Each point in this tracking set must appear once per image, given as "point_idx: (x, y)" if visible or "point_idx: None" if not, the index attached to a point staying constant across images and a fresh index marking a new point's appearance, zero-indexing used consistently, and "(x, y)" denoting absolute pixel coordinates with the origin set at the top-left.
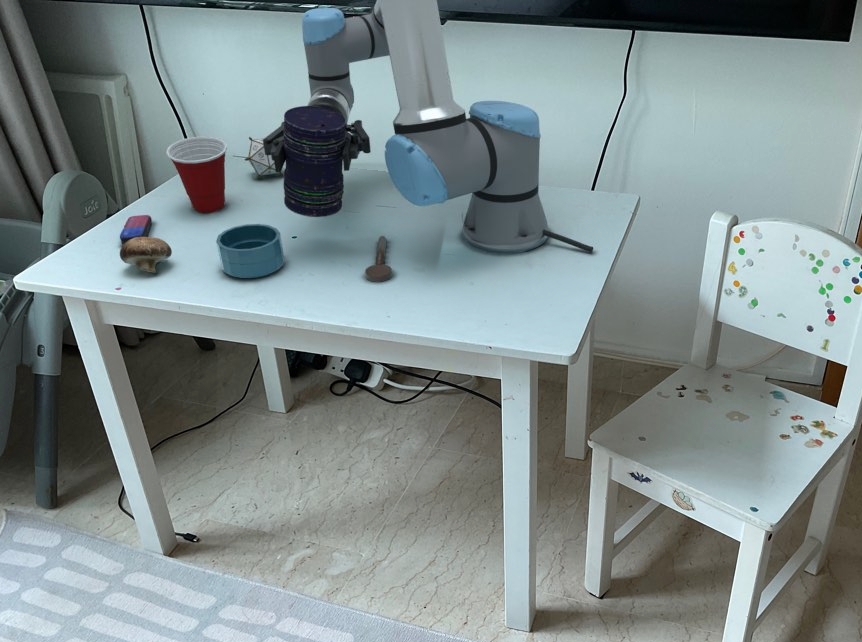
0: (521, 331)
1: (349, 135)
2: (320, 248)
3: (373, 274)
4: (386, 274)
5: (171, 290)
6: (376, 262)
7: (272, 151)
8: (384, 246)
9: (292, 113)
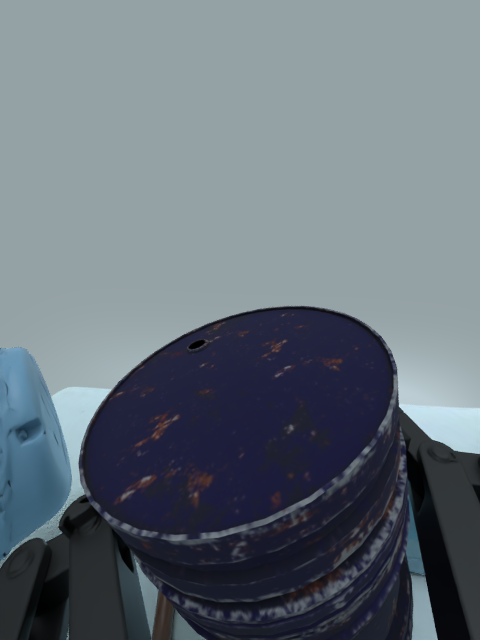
0: (77, 405)
1: (90, 606)
2: None
3: None
4: None
5: (431, 420)
6: None
7: None
8: (156, 611)
9: (346, 348)
